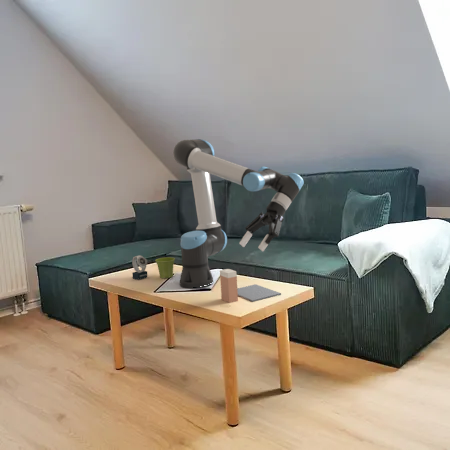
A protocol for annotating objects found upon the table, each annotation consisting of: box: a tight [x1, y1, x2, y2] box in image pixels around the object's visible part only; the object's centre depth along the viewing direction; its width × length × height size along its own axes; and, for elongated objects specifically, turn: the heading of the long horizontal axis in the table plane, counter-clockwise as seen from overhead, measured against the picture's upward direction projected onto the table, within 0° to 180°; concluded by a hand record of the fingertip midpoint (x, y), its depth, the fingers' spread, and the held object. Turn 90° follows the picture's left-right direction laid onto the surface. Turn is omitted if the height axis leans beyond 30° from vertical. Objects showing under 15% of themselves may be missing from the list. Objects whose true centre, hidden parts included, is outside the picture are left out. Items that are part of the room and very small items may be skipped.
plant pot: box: [154, 256, 176, 279], centre depth 242 cm, size 9×9×9 cm
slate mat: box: [237, 283, 282, 303], centre depth 207 cm, size 18×14×1 cm
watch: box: [131, 254, 148, 281], centre depth 242 cm, size 6×8×11 cm
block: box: [219, 268, 239, 304], centre depth 199 cm, size 6×4×12 cm, turn 32°
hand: (250, 247), depth 202 cm, fingers open, 13 cm apart
